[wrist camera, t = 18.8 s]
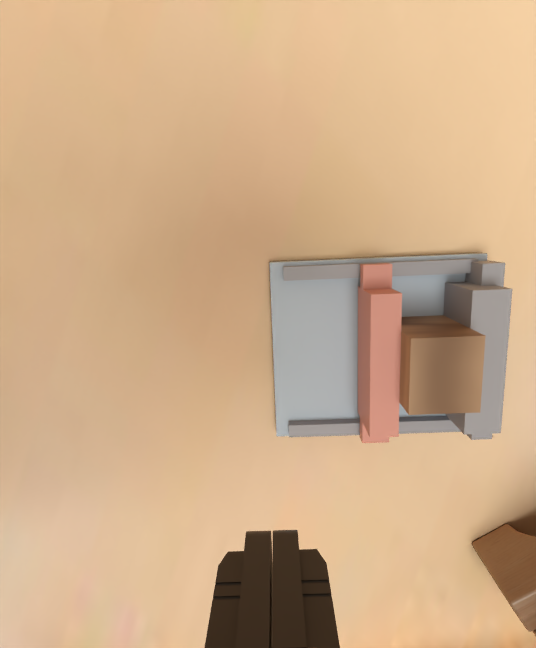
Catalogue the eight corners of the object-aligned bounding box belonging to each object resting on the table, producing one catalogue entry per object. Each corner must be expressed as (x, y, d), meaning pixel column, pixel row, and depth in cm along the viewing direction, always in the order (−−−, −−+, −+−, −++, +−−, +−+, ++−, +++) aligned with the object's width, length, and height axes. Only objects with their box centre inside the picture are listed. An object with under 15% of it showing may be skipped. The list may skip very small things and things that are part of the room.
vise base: (276, 430, 35) (277, 466, 30) (269, 261, 32) (268, 267, 27) (470, 424, 35) (505, 459, 29) (480, 252, 32) (522, 257, 26)
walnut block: (382, 379, 33) (408, 414, 27) (383, 317, 32) (410, 338, 26) (440, 377, 33) (480, 412, 27) (443, 315, 32) (485, 335, 26)
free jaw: (357, 431, 34) (369, 459, 30) (357, 263, 31) (371, 268, 27) (382, 430, 34) (397, 458, 30) (385, 262, 31) (402, 266, 27)
